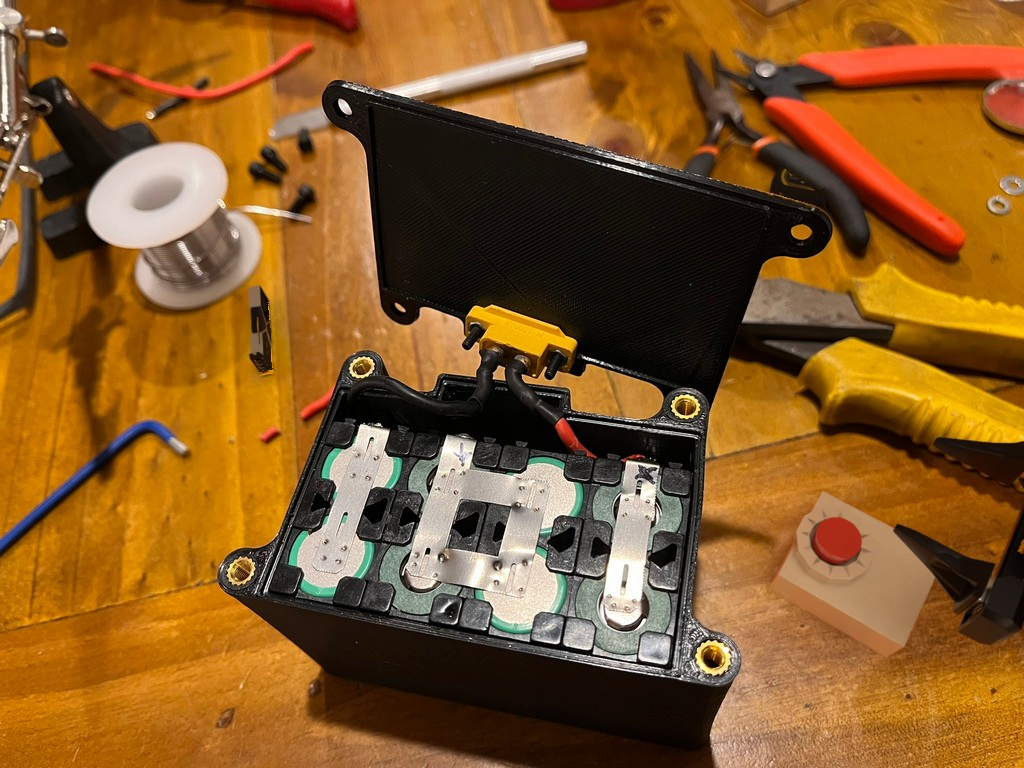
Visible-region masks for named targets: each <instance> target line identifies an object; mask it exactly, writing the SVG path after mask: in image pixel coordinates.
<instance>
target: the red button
mask: <svg viewBox="0 0 1024 768" xmlns="http://www.w3.org/2000/svg"><path fill="white" fill-rule="evenodd" d="M812 543H813V547H814V549H815V551H816V553H817V554H818V555H819V556H820V557H821V558H822V559H824V560H825V561H827V562H829V563H833V564H844V563H847V562H849V561H850V560H851V559H853V557H854V556H855V555H856V554H857V553H858V552H859V550H860V548H861V545H862V538H861V534H860V532H859V530H858V529H857V527H856V526H855V525H854V524H853V523H851V522H850V521H848V520H846V519H844V518H840V517H831V518H828V519H825V520H824V521H822V522H821V523H820V524H819V526H818V527H817V529H816V530H815V532H814V534H813V538H812Z"/></svg>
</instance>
